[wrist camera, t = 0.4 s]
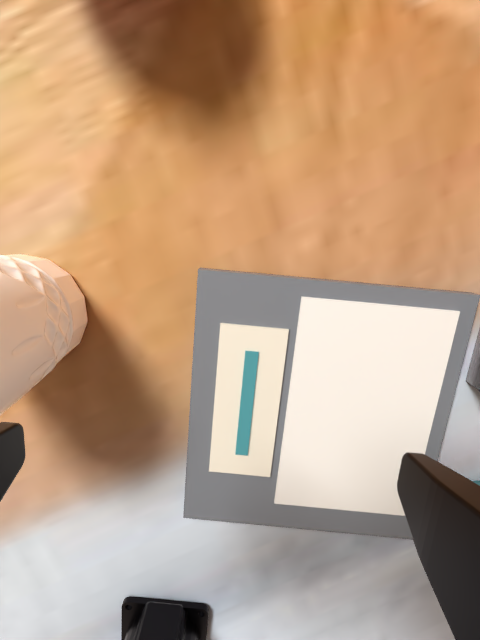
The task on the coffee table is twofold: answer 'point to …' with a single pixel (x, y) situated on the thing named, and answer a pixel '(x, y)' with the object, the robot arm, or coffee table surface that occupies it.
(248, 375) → the drawing board
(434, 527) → the robot arm
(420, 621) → the coffee table surface
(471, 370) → the button housing
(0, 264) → the white cup
